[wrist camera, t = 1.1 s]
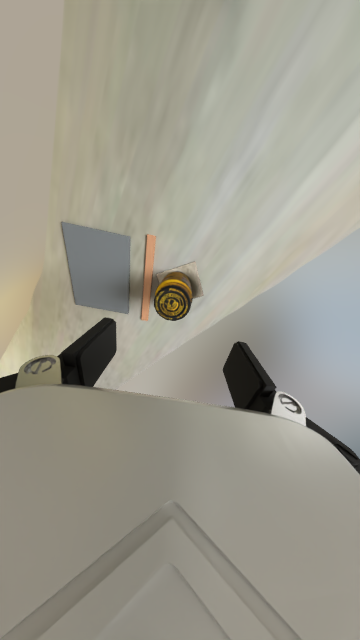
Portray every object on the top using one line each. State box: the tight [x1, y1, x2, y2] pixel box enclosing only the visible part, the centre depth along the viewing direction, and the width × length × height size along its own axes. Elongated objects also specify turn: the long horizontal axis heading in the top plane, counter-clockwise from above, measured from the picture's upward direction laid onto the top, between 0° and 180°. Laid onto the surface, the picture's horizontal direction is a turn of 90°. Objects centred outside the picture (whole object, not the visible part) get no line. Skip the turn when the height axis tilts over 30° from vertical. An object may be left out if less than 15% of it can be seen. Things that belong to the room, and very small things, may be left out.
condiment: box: [154, 262, 203, 321], centre depth 24 cm, size 7×8×12 cm
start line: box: [141, 234, 156, 321], centre depth 29 cm, size 18×2×1 cm, turn 169°
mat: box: [62, 222, 130, 314], centre depth 28 cm, size 16×12×1 cm
